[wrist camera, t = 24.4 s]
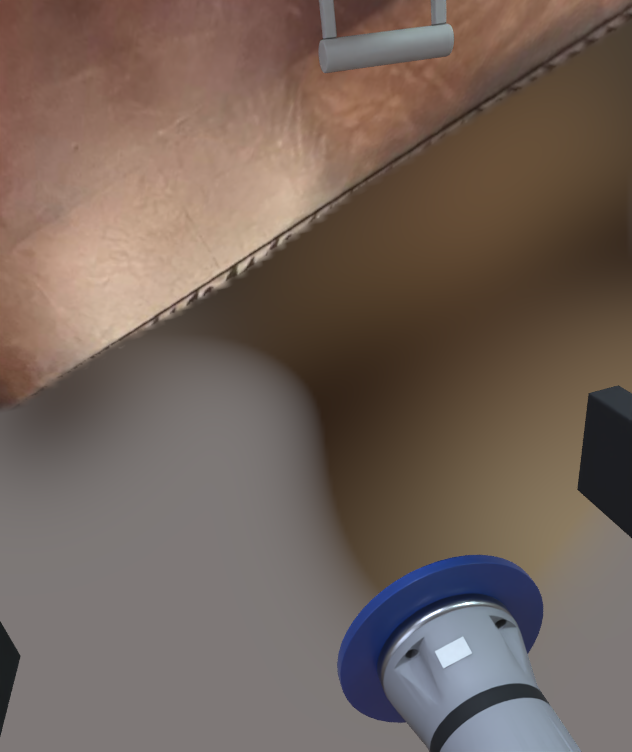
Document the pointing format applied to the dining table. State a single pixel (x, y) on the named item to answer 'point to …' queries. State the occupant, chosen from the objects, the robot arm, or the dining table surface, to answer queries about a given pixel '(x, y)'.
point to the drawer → (383, 42)
